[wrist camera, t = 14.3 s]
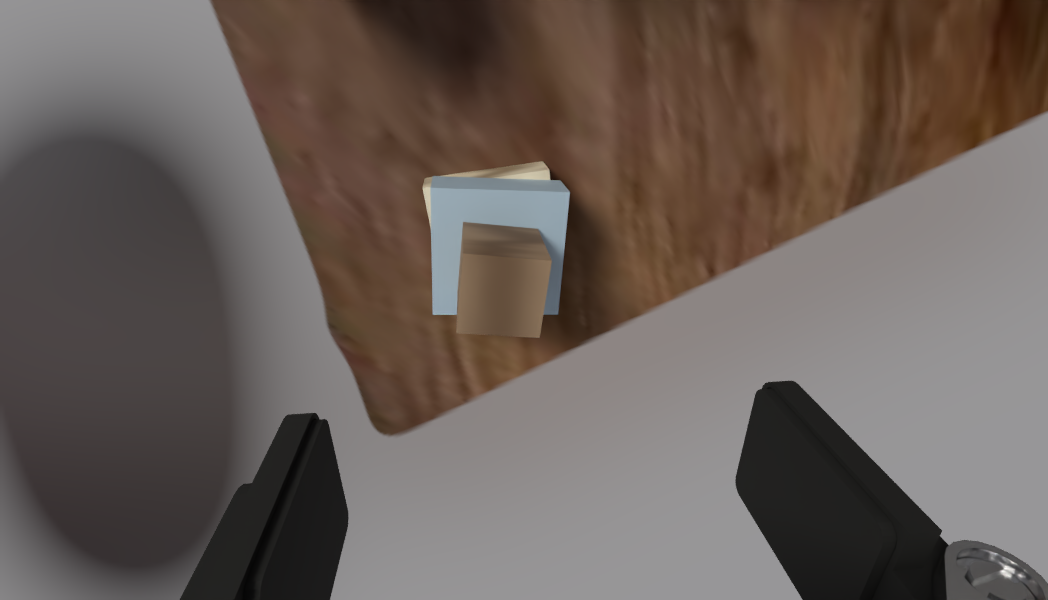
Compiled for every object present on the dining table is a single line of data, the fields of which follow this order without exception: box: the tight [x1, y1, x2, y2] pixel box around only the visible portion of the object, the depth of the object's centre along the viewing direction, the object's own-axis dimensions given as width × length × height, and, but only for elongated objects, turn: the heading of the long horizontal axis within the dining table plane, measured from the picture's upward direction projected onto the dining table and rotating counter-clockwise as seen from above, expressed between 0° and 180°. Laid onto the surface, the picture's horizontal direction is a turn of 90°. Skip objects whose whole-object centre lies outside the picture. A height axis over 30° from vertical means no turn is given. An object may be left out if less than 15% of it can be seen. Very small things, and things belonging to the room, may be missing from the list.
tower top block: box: [430, 176, 570, 315], centre depth 36 cm, size 9×9×4 cm
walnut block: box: [457, 222, 552, 338], centre depth 32 cm, size 5×5×6 cm
